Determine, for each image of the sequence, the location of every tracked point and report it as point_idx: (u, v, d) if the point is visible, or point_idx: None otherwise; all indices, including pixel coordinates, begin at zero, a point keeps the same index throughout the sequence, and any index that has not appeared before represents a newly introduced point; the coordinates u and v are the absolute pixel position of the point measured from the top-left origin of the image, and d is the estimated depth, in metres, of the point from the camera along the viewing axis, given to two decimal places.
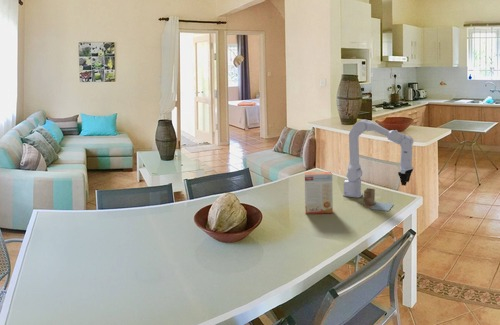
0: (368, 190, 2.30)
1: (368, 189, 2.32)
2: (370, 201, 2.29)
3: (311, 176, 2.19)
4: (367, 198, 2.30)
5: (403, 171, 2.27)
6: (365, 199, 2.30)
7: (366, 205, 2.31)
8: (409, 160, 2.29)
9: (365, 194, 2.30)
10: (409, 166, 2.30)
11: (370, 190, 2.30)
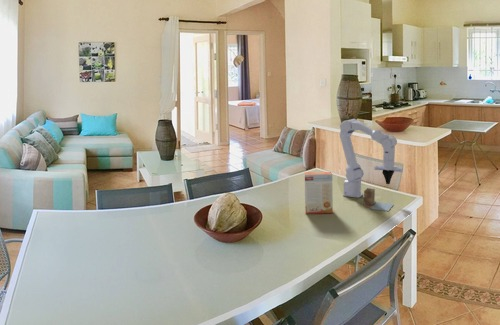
0: (368, 190, 2.30)
1: (368, 189, 2.32)
2: (370, 201, 2.29)
3: (311, 176, 2.19)
4: (367, 198, 2.30)
5: None
6: (365, 199, 2.30)
7: (366, 205, 2.31)
8: (384, 160, 2.31)
9: (365, 194, 2.30)
10: (384, 166, 2.32)
11: (370, 190, 2.30)
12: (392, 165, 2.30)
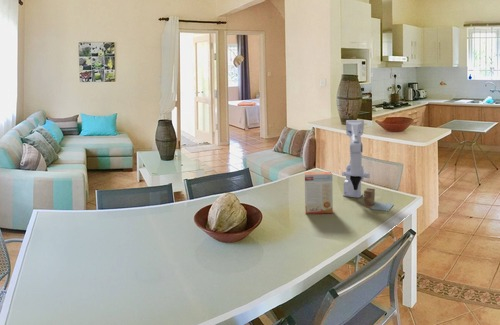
0: (368, 190, 2.30)
1: (368, 189, 2.32)
2: (370, 201, 2.29)
3: (311, 176, 2.19)
4: (367, 198, 2.30)
5: None
6: (365, 199, 2.30)
7: (366, 205, 2.31)
8: (351, 166, 2.32)
9: (365, 194, 2.30)
10: (351, 172, 2.32)
11: (370, 190, 2.30)
12: (359, 171, 2.31)
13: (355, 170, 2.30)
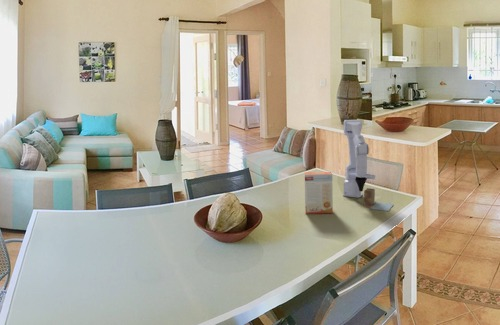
0: (368, 190, 2.30)
1: (368, 189, 2.32)
2: (370, 201, 2.29)
3: (311, 176, 2.19)
4: (367, 198, 2.30)
5: None
6: (365, 199, 2.30)
7: (366, 205, 2.31)
8: (356, 167, 2.30)
9: (365, 194, 2.30)
10: (356, 173, 2.31)
11: (370, 190, 2.30)
12: (365, 172, 2.29)
13: (360, 171, 2.29)
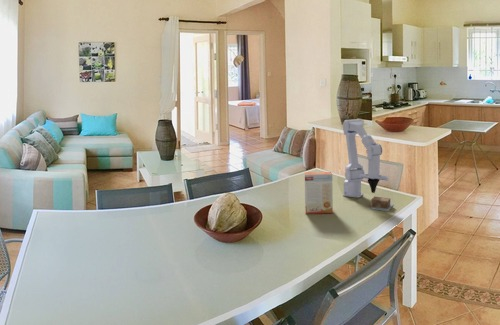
0: (388, 203, 2.26)
1: (389, 201, 2.28)
2: (377, 206, 2.28)
3: (311, 176, 2.19)
4: (379, 203, 2.27)
5: None
6: (379, 202, 2.27)
7: (372, 202, 2.29)
8: (369, 168, 2.27)
9: (384, 202, 2.26)
10: (369, 174, 2.27)
11: (388, 205, 2.27)
12: (378, 174, 2.26)
13: (373, 172, 2.25)
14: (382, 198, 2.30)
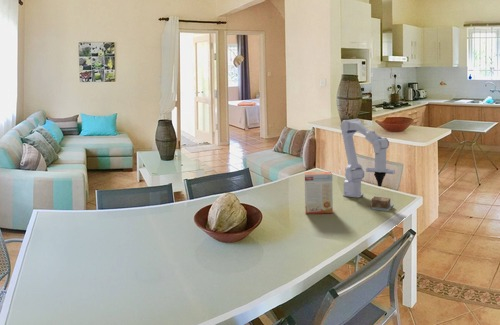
0: (388, 203, 2.26)
1: (389, 201, 2.28)
2: (377, 206, 2.28)
3: (311, 176, 2.19)
4: (379, 203, 2.27)
5: None
6: (379, 202, 2.27)
7: (372, 202, 2.29)
8: (375, 162, 2.27)
9: (384, 202, 2.26)
10: (375, 168, 2.28)
11: (388, 205, 2.27)
12: (384, 167, 2.26)
13: (380, 166, 2.26)
14: (382, 198, 2.30)
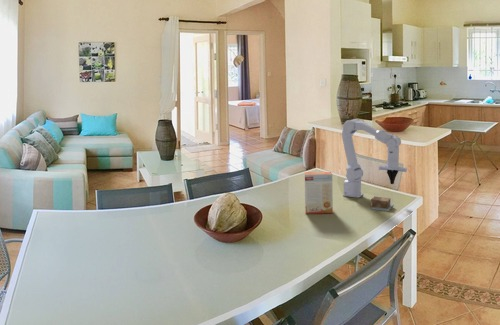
0: (388, 203, 2.26)
1: (389, 201, 2.28)
2: (377, 206, 2.28)
3: (311, 176, 2.19)
4: (379, 203, 2.27)
5: None
6: (379, 202, 2.27)
7: (372, 202, 2.29)
8: (388, 160, 2.31)
9: (384, 202, 2.26)
10: (388, 166, 2.31)
11: (388, 205, 2.27)
12: (397, 165, 2.30)
13: (392, 164, 2.29)
14: (382, 198, 2.30)
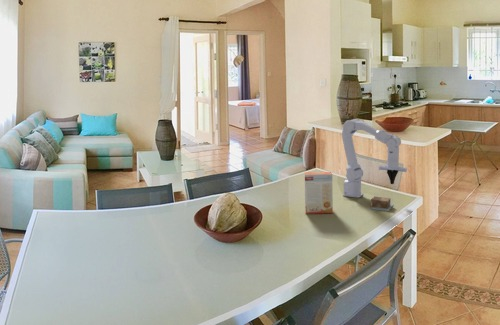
0: (388, 203, 2.26)
1: (389, 201, 2.28)
2: (377, 206, 2.28)
3: (311, 176, 2.19)
4: (379, 203, 2.27)
5: None
6: (379, 202, 2.27)
7: (372, 202, 2.29)
8: (388, 160, 2.31)
9: (384, 202, 2.26)
10: (388, 166, 2.31)
11: (388, 205, 2.27)
12: (397, 165, 2.30)
13: (392, 164, 2.29)
14: (382, 198, 2.30)
